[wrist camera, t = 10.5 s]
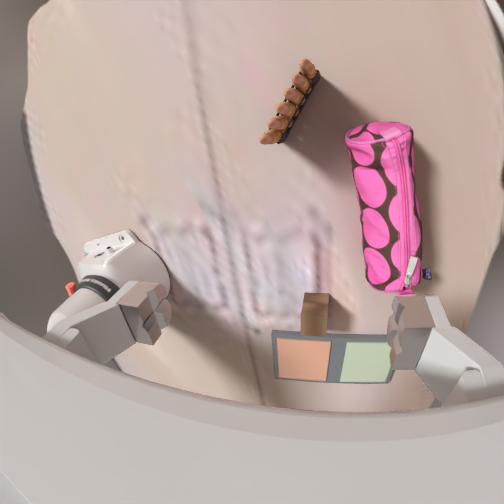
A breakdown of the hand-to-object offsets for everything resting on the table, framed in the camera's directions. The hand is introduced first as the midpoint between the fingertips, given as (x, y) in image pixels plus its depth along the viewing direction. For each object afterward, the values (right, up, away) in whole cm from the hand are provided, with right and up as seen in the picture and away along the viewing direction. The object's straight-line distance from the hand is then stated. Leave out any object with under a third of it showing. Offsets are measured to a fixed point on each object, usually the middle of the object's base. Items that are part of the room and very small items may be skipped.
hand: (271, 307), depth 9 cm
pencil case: (+18, +9, +26) cm, 33 cm away
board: (+16, -19, +42) cm, 49 cm away
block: (+10, -7, +37) cm, 39 cm away
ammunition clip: (+5, +21, +24) cm, 32 cm away
